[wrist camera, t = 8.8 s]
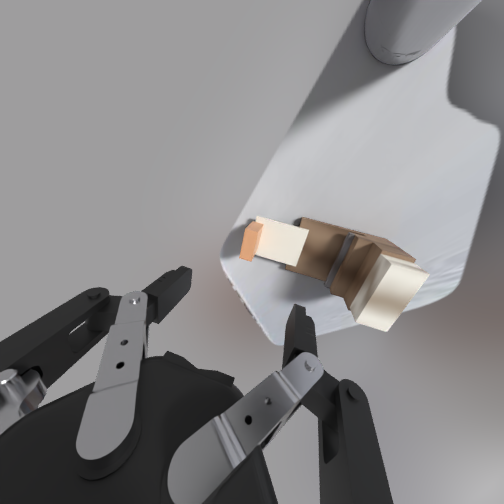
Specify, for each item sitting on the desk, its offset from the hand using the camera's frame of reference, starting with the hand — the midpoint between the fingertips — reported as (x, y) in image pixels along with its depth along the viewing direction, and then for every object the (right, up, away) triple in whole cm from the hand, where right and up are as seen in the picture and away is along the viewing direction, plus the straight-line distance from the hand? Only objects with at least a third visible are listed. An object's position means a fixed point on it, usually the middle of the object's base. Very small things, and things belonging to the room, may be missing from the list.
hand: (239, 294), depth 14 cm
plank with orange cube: (+5, +5, +19) cm, 20 cm away
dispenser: (+16, +3, +19) cm, 25 cm away
